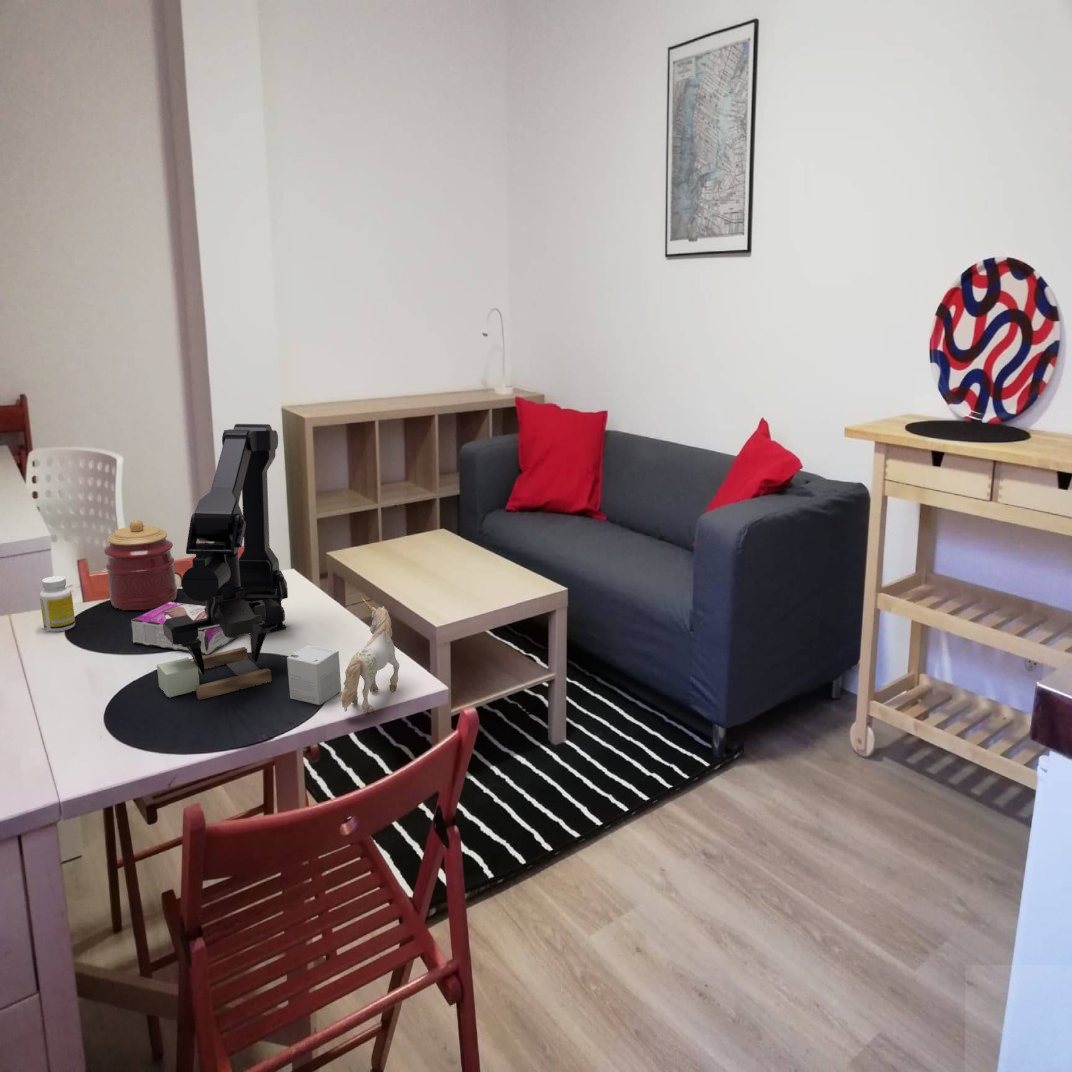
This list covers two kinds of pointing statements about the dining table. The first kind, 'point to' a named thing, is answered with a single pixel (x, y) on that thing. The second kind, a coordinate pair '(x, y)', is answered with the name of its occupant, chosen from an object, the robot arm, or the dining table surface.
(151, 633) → the candy bar box
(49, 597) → the supplement bottle
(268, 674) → the channel
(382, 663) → the unicorn figurine
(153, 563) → the canister
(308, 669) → the skincare box
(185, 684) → the sage block
